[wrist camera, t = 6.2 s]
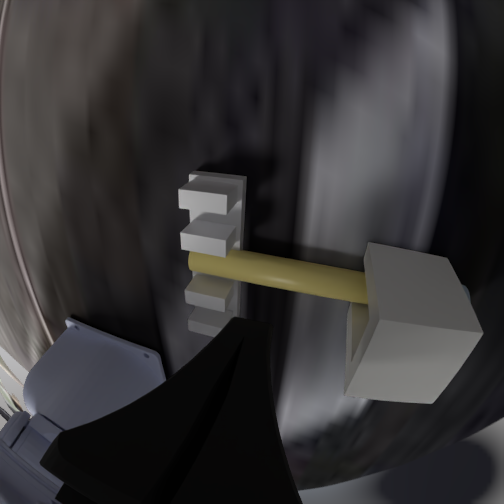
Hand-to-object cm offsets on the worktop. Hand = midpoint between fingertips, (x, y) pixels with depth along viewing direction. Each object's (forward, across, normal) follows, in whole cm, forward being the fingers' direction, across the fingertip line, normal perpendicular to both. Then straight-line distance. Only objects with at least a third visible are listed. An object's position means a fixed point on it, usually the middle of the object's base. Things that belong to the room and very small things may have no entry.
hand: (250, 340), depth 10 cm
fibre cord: (+5, -3, 0) cm, 6 cm away
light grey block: (+5, -6, 0) cm, 8 cm away
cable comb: (+5, +3, 0) cm, 6 cm away
